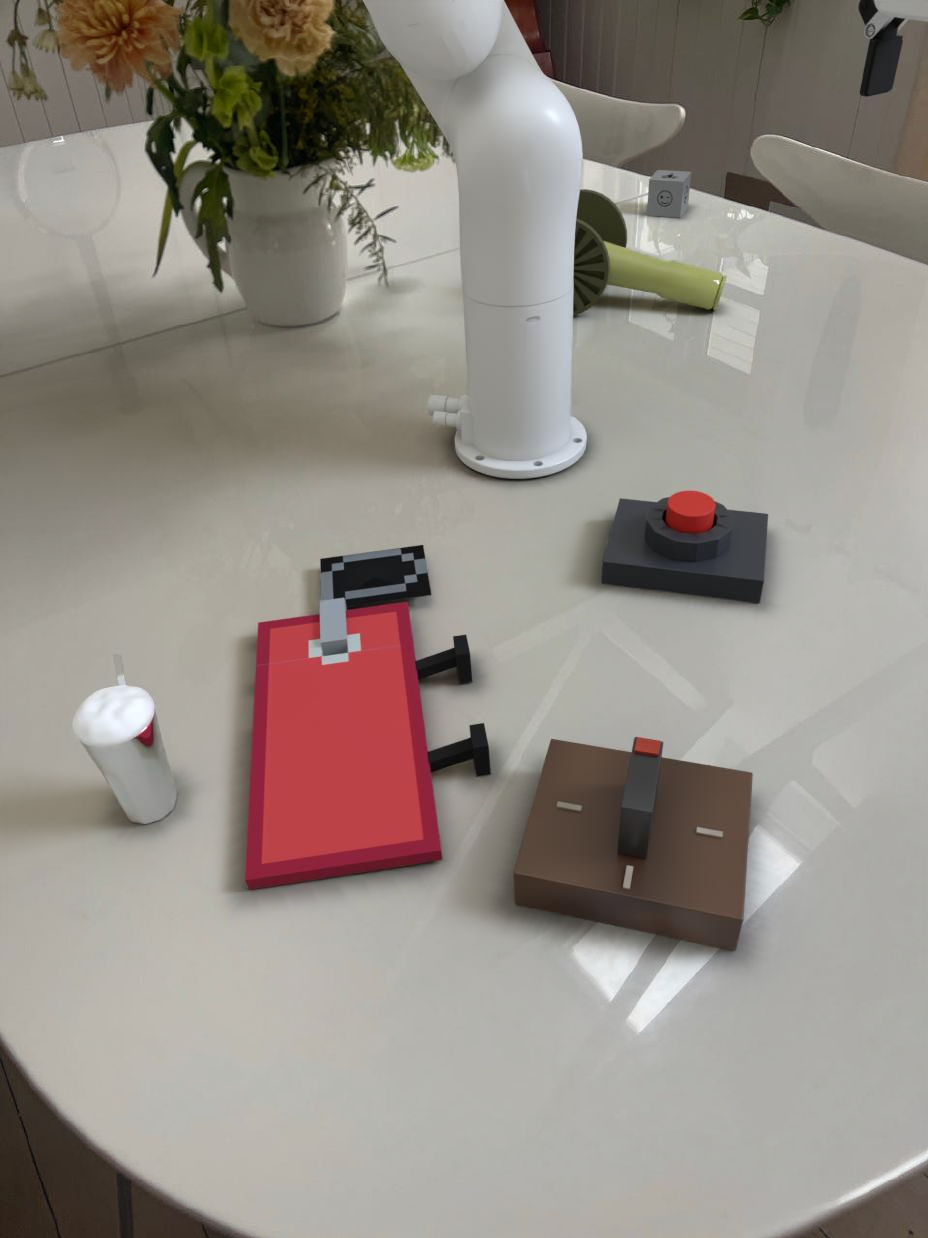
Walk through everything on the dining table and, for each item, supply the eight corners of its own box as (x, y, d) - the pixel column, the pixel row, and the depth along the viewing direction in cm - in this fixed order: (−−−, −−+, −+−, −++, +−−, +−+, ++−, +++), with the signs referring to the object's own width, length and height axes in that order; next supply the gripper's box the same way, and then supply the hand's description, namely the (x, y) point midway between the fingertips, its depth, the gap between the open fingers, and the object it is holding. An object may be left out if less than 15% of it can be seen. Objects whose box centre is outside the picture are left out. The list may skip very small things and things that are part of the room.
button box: (601, 583, 74) (603, 542, 71) (618, 519, 81) (620, 479, 78) (759, 603, 71) (767, 561, 69) (764, 535, 78) (772, 494, 75)
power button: (663, 532, 73) (664, 513, 71) (668, 506, 75) (670, 487, 74) (711, 537, 72) (713, 518, 71) (714, 511, 74) (717, 492, 73)
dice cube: (646, 215, 140) (649, 179, 137) (655, 204, 143) (657, 169, 140) (680, 217, 138) (683, 181, 135) (687, 207, 142) (691, 171, 138)
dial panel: (514, 904, 53) (513, 871, 51) (550, 770, 60) (550, 736, 58) (735, 952, 50) (744, 918, 48) (745, 804, 57) (753, 770, 55)
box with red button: (646, 859, 51) (652, 809, 48) (617, 853, 51) (621, 803, 48) (658, 788, 54) (664, 738, 52) (630, 783, 55) (634, 733, 52)
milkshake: (196, 764, 62) (155, 651, 55) (180, 831, 58) (134, 717, 51) (127, 768, 62) (78, 656, 55) (106, 835, 58) (51, 722, 51)
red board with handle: (446, 550, 78) (264, 575, 77) (443, 522, 76) (257, 548, 75) (506, 854, 55) (250, 894, 54) (504, 825, 53) (239, 866, 53)
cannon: (728, 291, 117) (741, 194, 109) (716, 330, 108) (728, 228, 101) (533, 277, 124) (532, 185, 116) (507, 313, 115) (504, 216, 108)
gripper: (853, -172, 69) (808, 93, 80) (1077, -179, 57) (988, 133, 68) (924, -177, 71) (870, 79, 82) (1152, -184, 60) (1054, 116, 71)
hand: (923, 103), depth 75 cm, fingers open, 9 cm apart
